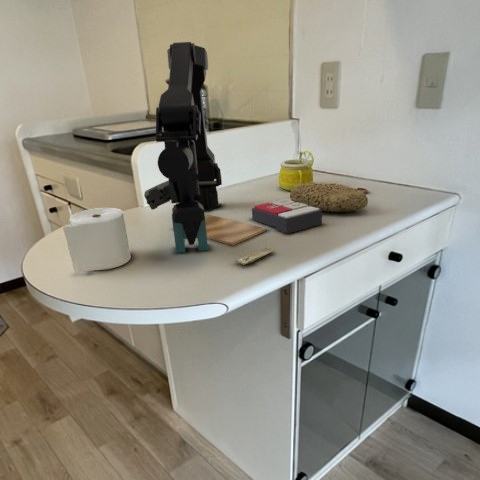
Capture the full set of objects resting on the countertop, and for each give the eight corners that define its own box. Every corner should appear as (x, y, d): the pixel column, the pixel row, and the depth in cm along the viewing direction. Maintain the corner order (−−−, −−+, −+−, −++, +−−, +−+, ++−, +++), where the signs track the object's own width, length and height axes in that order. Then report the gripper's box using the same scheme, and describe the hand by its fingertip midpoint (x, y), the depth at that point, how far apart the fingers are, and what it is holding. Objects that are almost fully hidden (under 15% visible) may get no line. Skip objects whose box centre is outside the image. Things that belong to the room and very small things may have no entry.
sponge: (285, 212, 122) (340, 212, 107) (285, 183, 120) (341, 178, 105) (319, 211, 130) (374, 211, 114) (319, 183, 128) (376, 179, 112)
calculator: (284, 197, 118) (322, 206, 106) (285, 213, 120) (322, 224, 108) (250, 205, 113) (286, 215, 101) (251, 221, 115) (287, 233, 103)
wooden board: (174, 228, 111) (174, 226, 110) (208, 216, 118) (208, 214, 118) (232, 245, 99) (232, 243, 99) (266, 230, 106) (266, 228, 106)
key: (349, 206, 121) (375, 193, 131) (350, 202, 121) (376, 190, 130) (331, 201, 125) (358, 189, 134) (332, 198, 124) (359, 186, 133)
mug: (275, 185, 144) (275, 146, 138) (308, 183, 145) (309, 144, 139) (283, 195, 133) (283, 153, 127) (318, 192, 134) (320, 151, 128)
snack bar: (264, 247, 95) (274, 245, 93) (266, 254, 95) (276, 252, 93) (233, 260, 89) (243, 259, 87) (235, 267, 90) (245, 266, 87)
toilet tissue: (135, 250, 99) (127, 206, 94) (124, 272, 89) (115, 224, 84) (88, 252, 99) (78, 208, 94) (72, 274, 89) (59, 226, 84)
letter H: (176, 248, 99) (171, 213, 95) (207, 245, 100) (203, 210, 96) (176, 253, 96) (171, 217, 92) (208, 250, 97) (204, 214, 93)
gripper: (145, 162, 96) (155, 231, 104) (140, 182, 80) (153, 261, 88) (195, 158, 97) (202, 226, 105) (201, 177, 82) (208, 255, 90)
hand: (191, 241), depth 97 cm, fingers open, 4 cm apart
